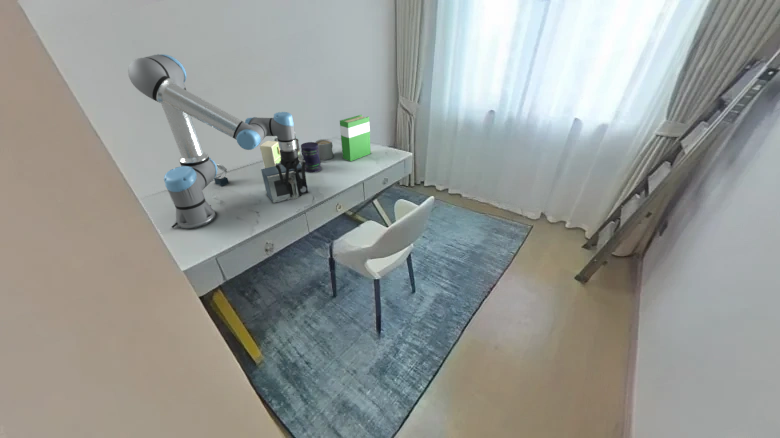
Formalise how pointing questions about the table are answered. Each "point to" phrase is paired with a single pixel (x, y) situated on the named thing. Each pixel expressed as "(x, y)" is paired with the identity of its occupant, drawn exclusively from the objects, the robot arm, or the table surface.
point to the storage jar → (311, 157)
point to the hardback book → (355, 137)
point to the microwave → (274, 171)
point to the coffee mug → (325, 149)
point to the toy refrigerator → (270, 153)
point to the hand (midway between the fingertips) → (295, 195)
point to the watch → (221, 179)
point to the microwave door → (282, 187)
